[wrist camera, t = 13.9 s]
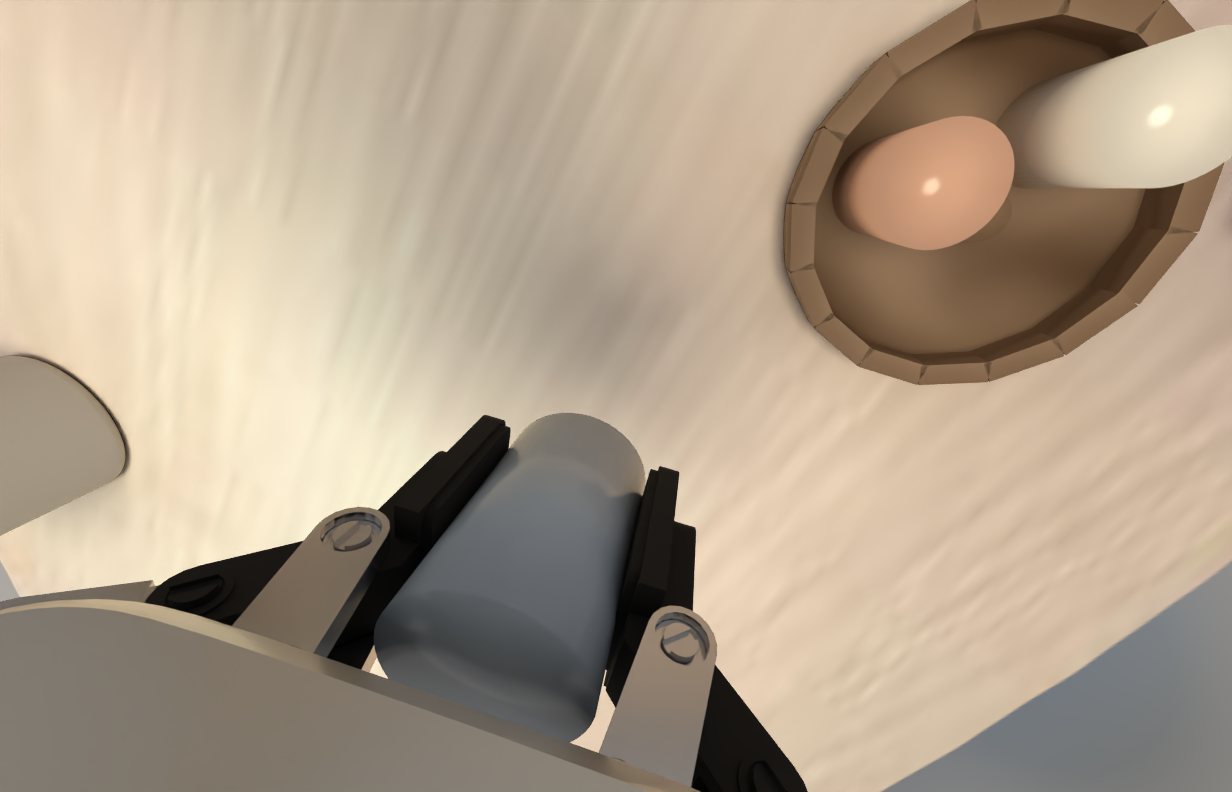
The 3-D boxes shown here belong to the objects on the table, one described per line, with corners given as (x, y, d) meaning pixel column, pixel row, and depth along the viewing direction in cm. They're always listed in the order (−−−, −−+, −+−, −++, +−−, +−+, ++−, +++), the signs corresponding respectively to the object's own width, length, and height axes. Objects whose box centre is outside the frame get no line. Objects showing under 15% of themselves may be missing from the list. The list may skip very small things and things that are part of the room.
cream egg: (1030, 63, 17) (1172, 7, 12) (1134, 90, 17) (1325, 46, 12) (968, 173, 19) (1067, 167, 14) (1061, 200, 19) (1199, 204, 14)
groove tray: (879, -37, 18) (903, -69, 15) (1270, 64, 17) (1353, 45, 15) (737, 317, 24) (740, 329, 22) (1010, 402, 24) (1040, 423, 21)
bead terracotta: (950, 150, 19) (1044, 135, 14) (900, 245, 21) (965, 264, 15) (858, 125, 19) (915, 100, 14) (816, 220, 21) (852, 231, 16)
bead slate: (519, 396, 12) (370, 559, 7) (661, 437, 12) (621, 642, 6) (504, 506, 14) (376, 705, 9) (627, 544, 14) (574, 774, 8)
